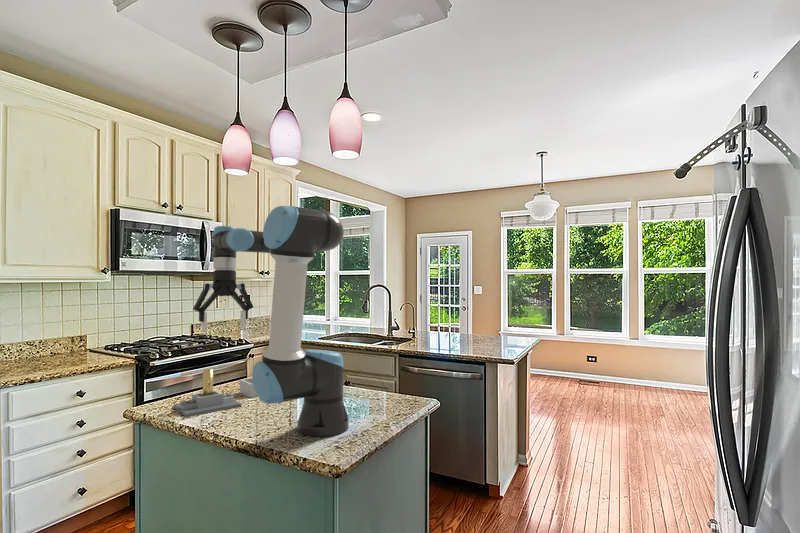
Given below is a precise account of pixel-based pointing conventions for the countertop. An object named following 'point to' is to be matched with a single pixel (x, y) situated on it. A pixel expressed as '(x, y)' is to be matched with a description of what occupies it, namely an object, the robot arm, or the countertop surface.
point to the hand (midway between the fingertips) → (224, 330)
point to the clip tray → (247, 387)
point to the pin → (207, 382)
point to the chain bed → (206, 403)
